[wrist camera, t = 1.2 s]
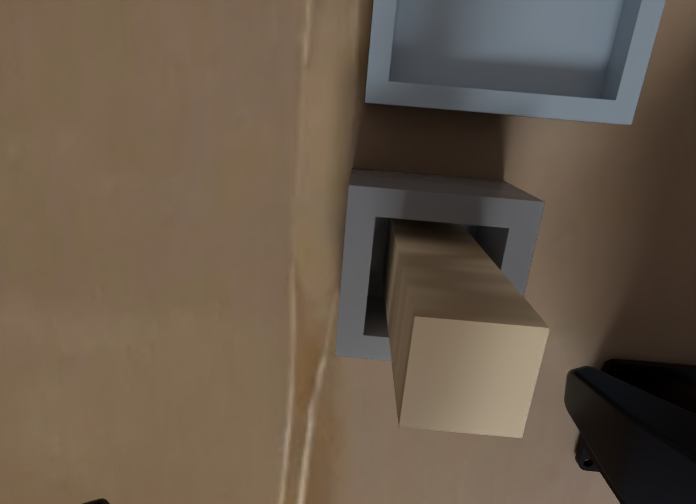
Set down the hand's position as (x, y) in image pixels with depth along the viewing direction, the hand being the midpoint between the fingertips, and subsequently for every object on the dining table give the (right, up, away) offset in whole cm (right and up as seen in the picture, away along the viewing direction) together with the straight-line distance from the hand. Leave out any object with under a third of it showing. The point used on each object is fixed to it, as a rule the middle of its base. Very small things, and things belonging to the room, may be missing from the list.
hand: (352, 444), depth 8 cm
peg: (+3, +4, +11) cm, 12 cm away
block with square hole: (+3, +4, +12) cm, 13 cm away
